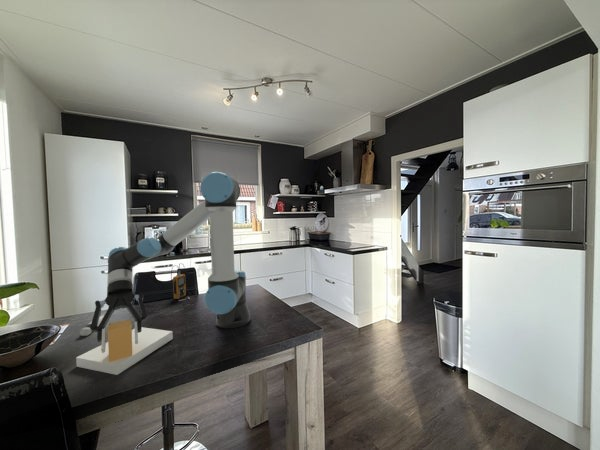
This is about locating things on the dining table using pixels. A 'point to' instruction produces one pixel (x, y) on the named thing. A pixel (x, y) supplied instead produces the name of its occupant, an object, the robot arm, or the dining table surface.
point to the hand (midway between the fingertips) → (120, 346)
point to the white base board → (146, 345)
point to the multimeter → (179, 285)
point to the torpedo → (87, 329)
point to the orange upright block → (120, 339)
